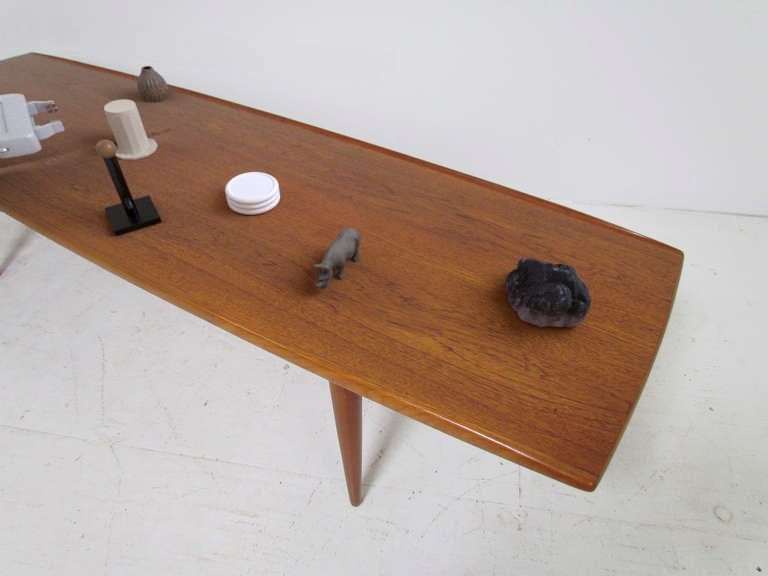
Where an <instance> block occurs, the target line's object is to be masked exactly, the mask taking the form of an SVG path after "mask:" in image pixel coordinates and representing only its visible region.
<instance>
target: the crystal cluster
mask: <svg viewBox="0 0 768 576" xmlns="http://www.w3.org/2000/svg"><path fill="white" fill-rule="evenodd" d="M503 288H504V290H505V292H506V293H507V300H508V303H509V305H510V307H511V308H512V310H513V311H514V312H516V313H517V315H518V317H519V319H520V320H522V321H523V322H526V323H529V324H531V325H534V326H536V327H540V328H543V327H556V328H563V327H564V328H573V327H576V326H578V325H581V324H582V323H584V321H585V319H586V317H587V315H588V313H589V311H590V309H591V304H592V298H591V294H590V289H589V288H588V286H587V285H586V283H585V282H584V281H582V280H581V278H580V277H579V276H578V274H577V271H576V268H575V267H573V266H572V265H567V264H564V263H552V262H548V261H542V260H538V259H536V258H532V257H522V258H521V259H519V260H518V261H517V266H516V267H515V268H514V269H512V270H511V271H509V273H508V274H507V276H506V277H505V281H504V284H503Z"/></svg>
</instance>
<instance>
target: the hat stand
mask: <svg viewBox="0 0 768 576" xmlns="http://www.w3.org/2000/svg"><path fill="white" fill-rule="evenodd" d="M115 144H116V143H115V142H113V141H111V140H109V139H101V140H98V141H97V143H96V145H95V151H96V153H97V155H98V156H99V157H101V158H102V159H103V162H104V164H105V167H106V169H107V171H108V174H109V176H110V179H111V181H112V183H113V186H114V188H115V191H116V193H117V195H118V197H119V200H120V203H116V204H113V205H109V206H106V207H104V211H105V213H106V217H107V218H108V221H109V223H110V226H111V229H112V231H113V233H114V235H115V237H119V236H121V235H124V234H125V235H126V234H128V233H131V232H134V231H135V232H136V231H138V230H141V229H144V228H147V227H151V226H155V225H158V224H161V223H163V221H162V218H161V215H160V214H159V211H158V210H157V208H156V206H155V204H154V202H153V200H152V198H151V197H150V196H151V195H145V196H142V197H138V198H135V199H134V198H133V195H132V192H131V190H130V187H129V184H128V182H127V181H126V178H125V175H124V173H123V169H122V167H121V165H120V162H119V160H118V158H117V157H116V155H115V154H116V151H117V149H116V146H115Z"/></svg>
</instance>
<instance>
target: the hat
mask: <svg viewBox="0 0 768 576" xmlns="http://www.w3.org/2000/svg"><path fill="white" fill-rule="evenodd" d="M103 110H104V113H105V116H106V118H107V121H108V124H109V126H110V129H111V131H112V134H113V136H114V139H115V142H116V143H114V144H115V146H116V149H117V151H116V154H115V155H116V157H117V159H119V160H122V161H136V160H140V159H144V158H147V157H149V156H150V155H152V154H154V153H155V152H156V150H157V149H158V147H159V146H158V143H157V142H156V140H155V139H153V138H151V137H148V136H147V133H146V130H145V128H144V124H143V121H142V119H141V115H140V112H139V109H138V107H137V104H136V102H135V101H133V100H131V99H115V100H112V101H110V102H107V103H106V104H105V105H104V106H103Z"/></svg>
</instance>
